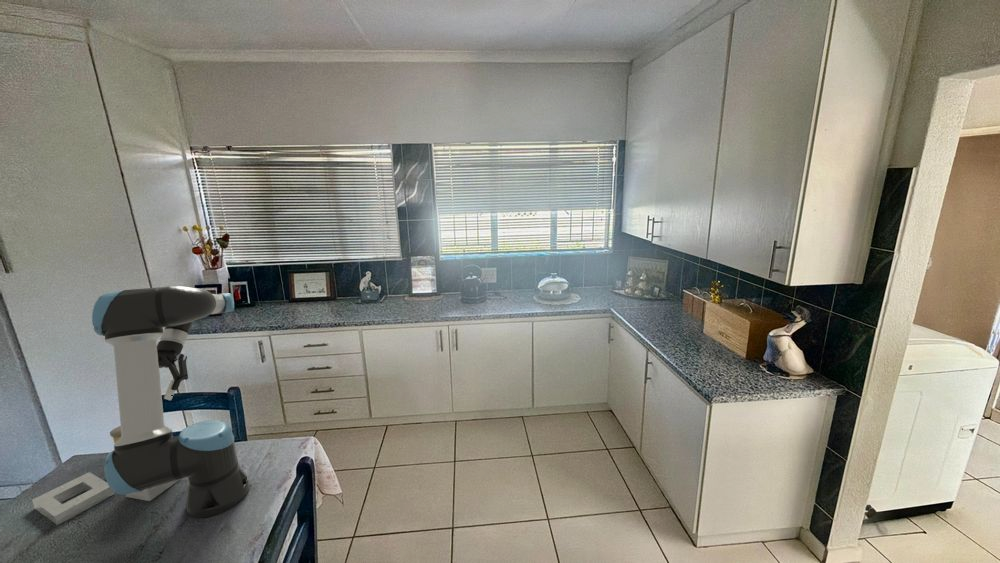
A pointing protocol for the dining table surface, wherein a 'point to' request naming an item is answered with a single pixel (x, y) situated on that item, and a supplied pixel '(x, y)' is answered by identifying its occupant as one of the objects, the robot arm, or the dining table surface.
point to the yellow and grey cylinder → (116, 434)
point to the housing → (60, 512)
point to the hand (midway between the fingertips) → (147, 400)
